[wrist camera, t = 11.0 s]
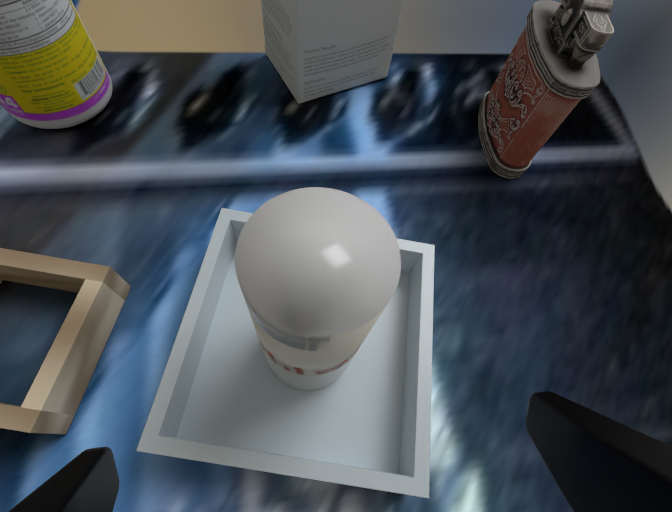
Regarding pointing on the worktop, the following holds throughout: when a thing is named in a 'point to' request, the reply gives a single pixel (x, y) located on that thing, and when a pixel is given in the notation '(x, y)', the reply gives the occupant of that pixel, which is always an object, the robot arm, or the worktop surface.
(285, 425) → the tray
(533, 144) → the lighter
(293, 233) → the white domed canister
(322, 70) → the skincare box
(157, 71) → the worktop surface
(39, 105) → the supplement bottle
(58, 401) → the holder
